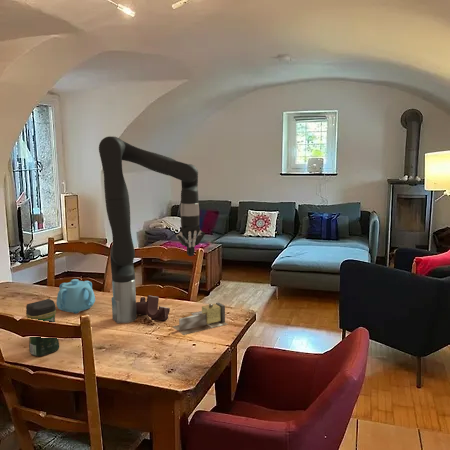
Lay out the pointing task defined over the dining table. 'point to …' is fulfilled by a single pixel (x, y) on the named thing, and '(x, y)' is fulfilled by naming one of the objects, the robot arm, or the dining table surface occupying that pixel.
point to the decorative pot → (75, 296)
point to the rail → (199, 322)
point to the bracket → (152, 308)
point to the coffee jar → (46, 313)
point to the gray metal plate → (197, 313)
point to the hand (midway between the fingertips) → (190, 255)
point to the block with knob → (211, 313)
